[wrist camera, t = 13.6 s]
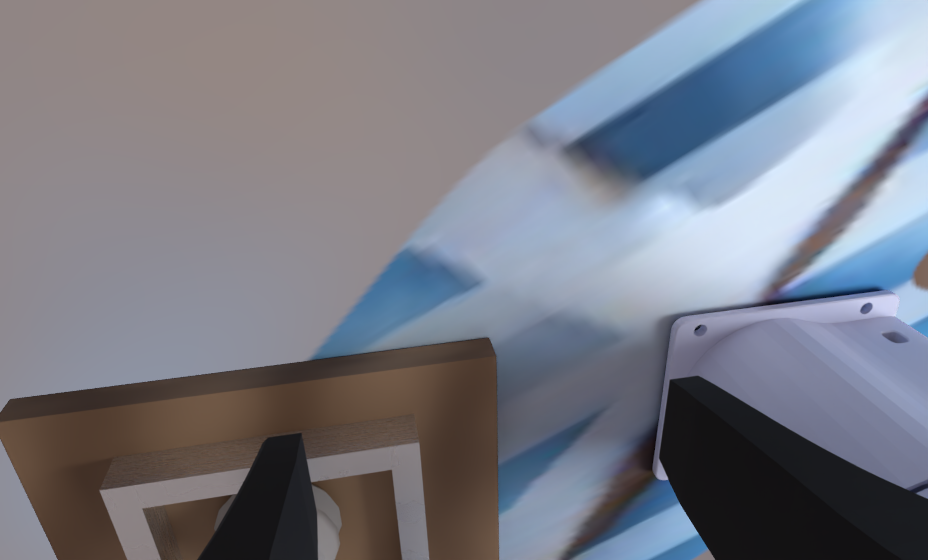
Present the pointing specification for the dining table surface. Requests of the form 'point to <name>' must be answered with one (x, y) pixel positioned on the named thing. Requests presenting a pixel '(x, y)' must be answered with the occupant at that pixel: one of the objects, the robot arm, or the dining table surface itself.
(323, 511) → the rook chess piece
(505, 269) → the dining table surface
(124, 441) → the collar board
